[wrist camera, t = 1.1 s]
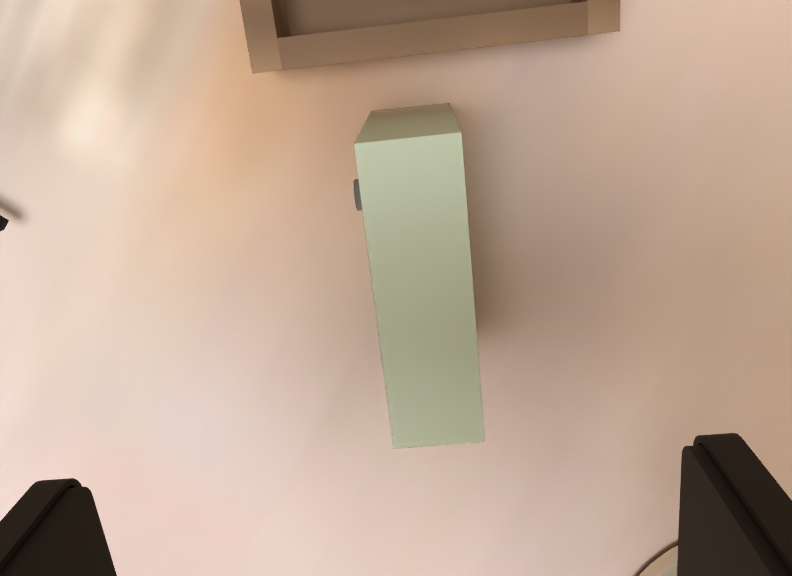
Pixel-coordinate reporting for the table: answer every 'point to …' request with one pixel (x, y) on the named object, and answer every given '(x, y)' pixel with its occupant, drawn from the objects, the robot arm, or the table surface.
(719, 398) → the table surface
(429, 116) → the light green rectangular block
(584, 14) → the brown wooden shallow tray
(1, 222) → the toy
